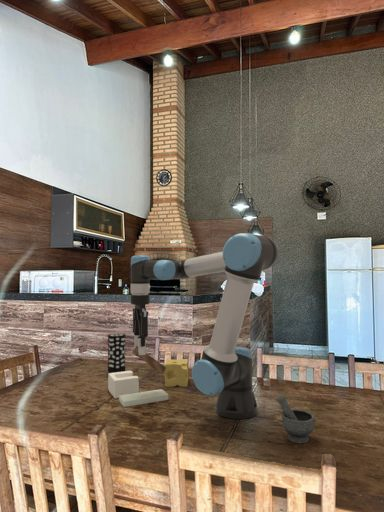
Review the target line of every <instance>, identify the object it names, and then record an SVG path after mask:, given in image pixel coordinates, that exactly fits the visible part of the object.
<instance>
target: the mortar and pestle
mask: <svg viewBox="0 0 384 512" xmlns="http://www.w3.org/2000/svg"><path fill="white" fill-rule="evenodd" d="M276 400H277V403H278V404H279V405H280V408H281V409H282V412H281V421H282V426H283V429H284V430H285V432H286V433H287V440H289V441H291V442H292V443H295V444H297V443H298V444H306V443H308V442H309V441H310V437H309V435H310V434H311V433H312V432H313V431H314V430H315V423H316V421H315V419H316V418H315V415H314V414H313V413H311V412H308V411H307V410H302V409H292V407H291V405H290V404H289V403H288V401H287V399H286V395H281V396H279V397H277V399H276Z"/></svg>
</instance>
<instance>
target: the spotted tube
mask: <svg viewBox="0 0 384 512" xmlns="http://www.w3.org/2000/svg"><path fill="white" fill-rule="evenodd" d="M123 371H126V334H125V333H121V332H120V333H119V332H118V333H109V334H107V374H108V373H115V372H123Z"/></svg>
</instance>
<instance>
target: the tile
mask: <svg viewBox="0 0 384 512" xmlns="http://www.w3.org/2000/svg"><path fill="white" fill-rule="evenodd" d="M132 353H133V355H135V356H136V357H138V358H139V359H140V360H142V361H143V362H144V363H146V364H147V365H148V366H150V367H151V368H153V369H154V370H155V371H157V372H158V373H159V374H161V375H163V374H164V373H165V369H166V367H165V365H163V364H162V363H161V362H159V361H158V360H157V359H156V358H154V357H153V356H151V355H150V354H149V353H147V352H146V355H138V346H136V348H135V349H133V350H132Z"/></svg>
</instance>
